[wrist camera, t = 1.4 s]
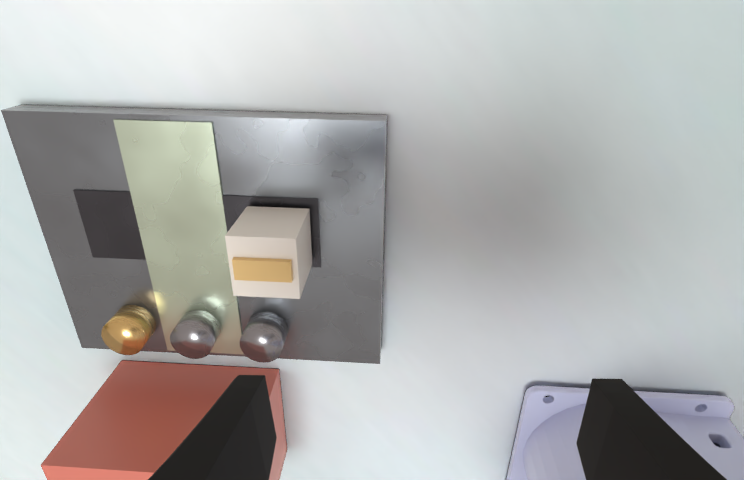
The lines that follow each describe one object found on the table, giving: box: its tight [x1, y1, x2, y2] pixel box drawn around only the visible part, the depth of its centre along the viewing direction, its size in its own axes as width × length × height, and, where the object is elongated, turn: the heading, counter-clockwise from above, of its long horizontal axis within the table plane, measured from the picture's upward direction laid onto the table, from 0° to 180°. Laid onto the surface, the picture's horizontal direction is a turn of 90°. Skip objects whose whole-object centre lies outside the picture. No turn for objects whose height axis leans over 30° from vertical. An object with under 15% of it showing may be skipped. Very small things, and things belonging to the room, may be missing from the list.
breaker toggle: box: [225, 206, 312, 299], centre depth 17 cm, size 2×2×3 cm
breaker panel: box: [1, 105, 387, 364], centre depth 19 cm, size 14×11×2 cm
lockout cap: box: [41, 360, 287, 480], centre depth 22 cm, size 8×6×6 cm
